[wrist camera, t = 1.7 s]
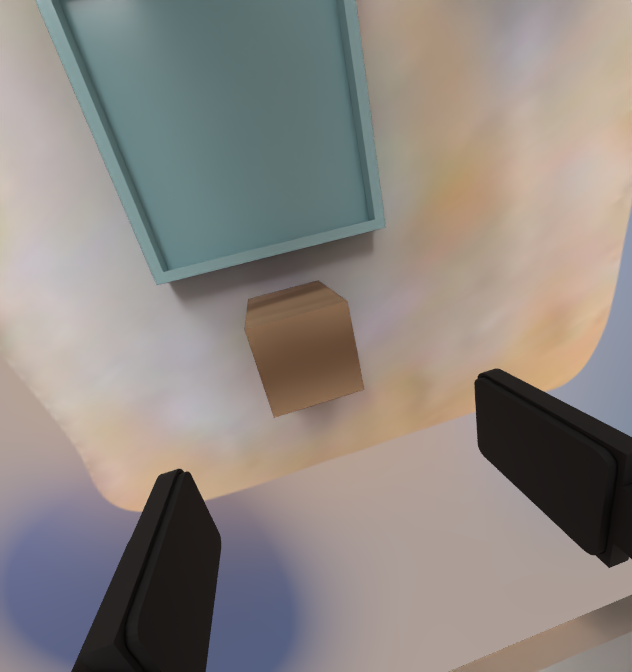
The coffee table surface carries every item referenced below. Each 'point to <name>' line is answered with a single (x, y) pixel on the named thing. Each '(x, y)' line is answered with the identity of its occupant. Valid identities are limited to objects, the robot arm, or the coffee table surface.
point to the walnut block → (303, 346)
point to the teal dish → (225, 123)
